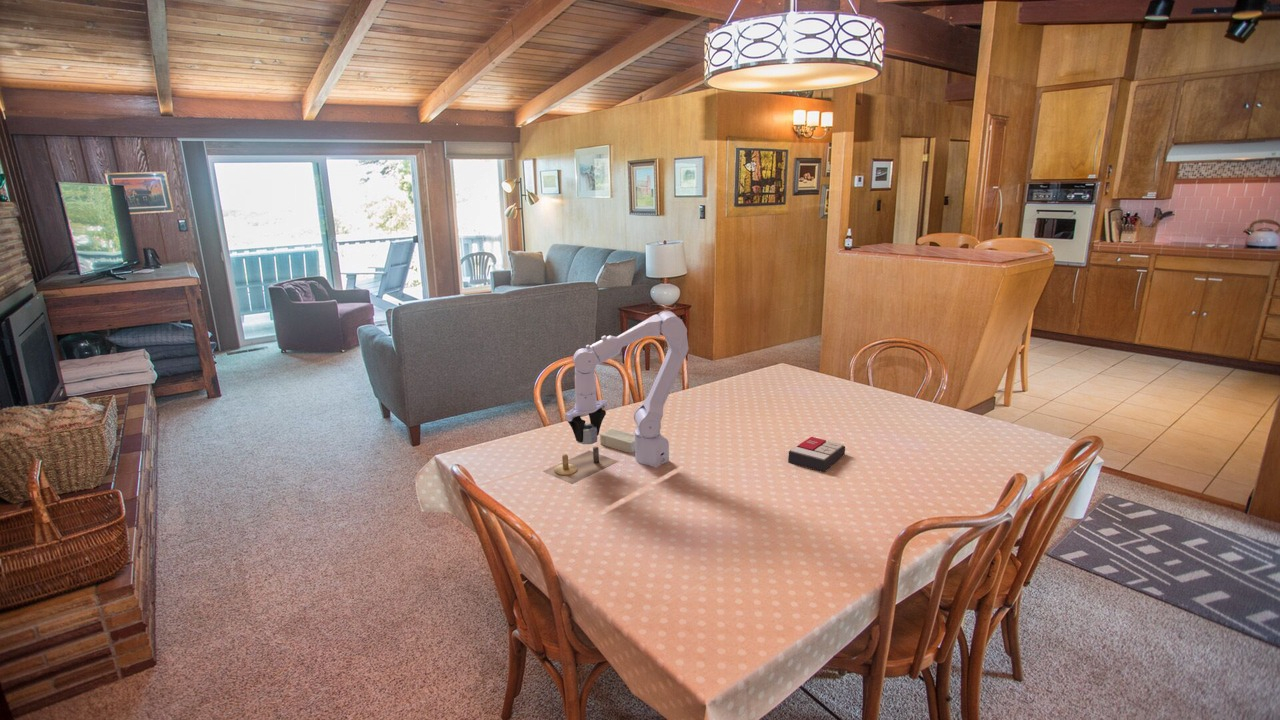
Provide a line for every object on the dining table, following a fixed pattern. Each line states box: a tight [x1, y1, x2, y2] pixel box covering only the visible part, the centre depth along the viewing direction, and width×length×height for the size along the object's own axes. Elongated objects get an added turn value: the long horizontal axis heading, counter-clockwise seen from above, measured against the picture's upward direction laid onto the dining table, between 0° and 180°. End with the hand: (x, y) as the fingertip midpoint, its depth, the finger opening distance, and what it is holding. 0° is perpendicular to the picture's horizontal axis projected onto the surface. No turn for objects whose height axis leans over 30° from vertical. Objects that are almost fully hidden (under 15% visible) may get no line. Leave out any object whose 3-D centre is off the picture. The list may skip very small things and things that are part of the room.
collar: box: [577, 423, 598, 445], centre depth 174 cm, size 6×6×4 cm
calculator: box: [787, 436, 846, 473], centre depth 180 cm, size 11×4×15 cm
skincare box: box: [599, 428, 635, 454], centre depth 189 cm, size 6×4×12 cm
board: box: [542, 446, 619, 485], centre depth 175 cm, size 12×18×6 cm, turn 139°
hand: (587, 438), depth 175 cm, fingers closed on collar, 5 cm apart
